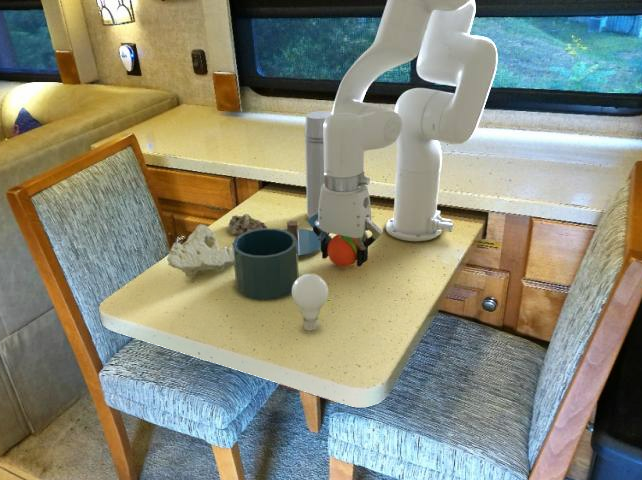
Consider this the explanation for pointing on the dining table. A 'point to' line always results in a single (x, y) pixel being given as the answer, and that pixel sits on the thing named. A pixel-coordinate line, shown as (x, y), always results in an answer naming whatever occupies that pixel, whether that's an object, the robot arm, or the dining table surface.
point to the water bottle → (314, 158)
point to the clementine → (342, 250)
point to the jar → (265, 263)
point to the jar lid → (304, 239)
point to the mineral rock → (244, 224)
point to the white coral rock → (199, 253)
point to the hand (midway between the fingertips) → (344, 259)
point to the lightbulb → (310, 298)
